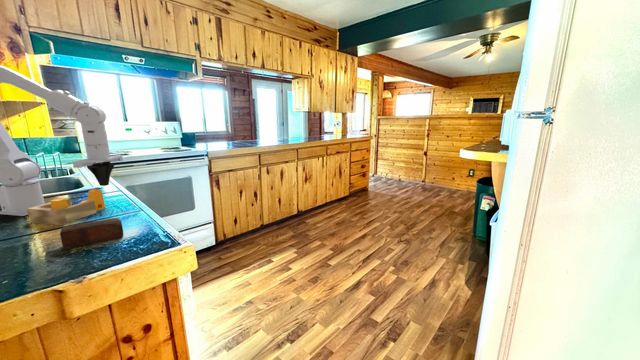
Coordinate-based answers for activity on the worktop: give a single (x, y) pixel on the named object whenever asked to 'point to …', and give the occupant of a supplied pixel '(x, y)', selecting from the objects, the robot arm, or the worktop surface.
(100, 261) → the worktop surface
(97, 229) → the brick
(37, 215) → the wooden open tray
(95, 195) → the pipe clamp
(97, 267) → the worktop surface
